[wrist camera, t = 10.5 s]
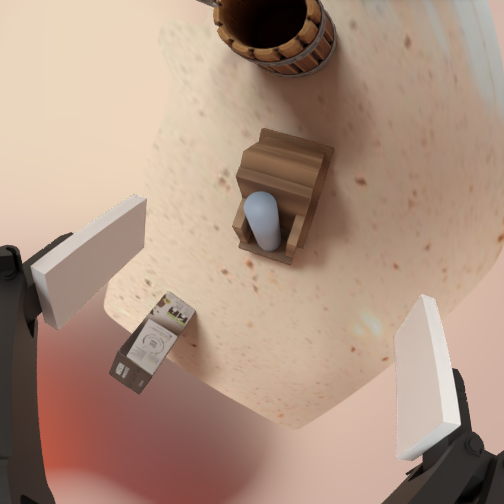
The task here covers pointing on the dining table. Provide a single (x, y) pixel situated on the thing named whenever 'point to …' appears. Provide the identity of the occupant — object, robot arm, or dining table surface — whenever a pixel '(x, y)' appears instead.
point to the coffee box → (151, 342)
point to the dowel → (263, 220)
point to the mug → (277, 33)
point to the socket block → (282, 188)
